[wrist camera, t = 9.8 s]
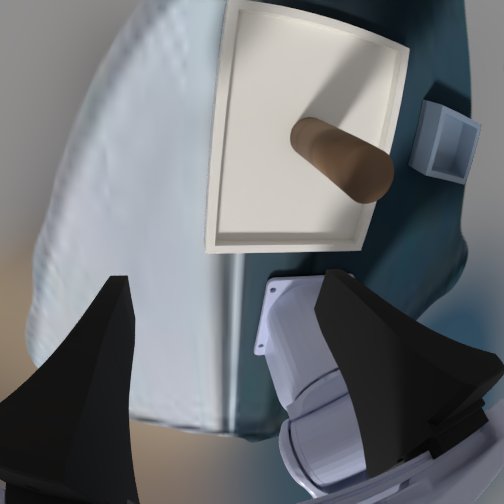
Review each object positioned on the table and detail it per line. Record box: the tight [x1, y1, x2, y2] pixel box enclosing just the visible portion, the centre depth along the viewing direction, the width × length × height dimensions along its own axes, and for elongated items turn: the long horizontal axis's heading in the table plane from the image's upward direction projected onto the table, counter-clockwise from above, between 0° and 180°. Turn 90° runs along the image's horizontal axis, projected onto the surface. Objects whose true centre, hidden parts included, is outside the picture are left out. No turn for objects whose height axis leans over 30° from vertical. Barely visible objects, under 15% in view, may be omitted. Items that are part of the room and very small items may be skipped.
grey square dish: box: [408, 100, 481, 185], centre depth 19 cm, size 6×6×2 cm
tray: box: [204, 0, 410, 254], centre depth 17 cm, size 16×12×1 cm
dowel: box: [290, 117, 394, 204], centre depth 15 cm, size 3×3×7 cm
